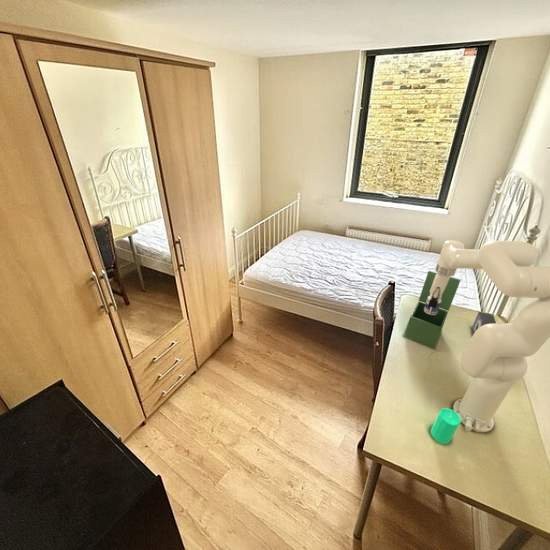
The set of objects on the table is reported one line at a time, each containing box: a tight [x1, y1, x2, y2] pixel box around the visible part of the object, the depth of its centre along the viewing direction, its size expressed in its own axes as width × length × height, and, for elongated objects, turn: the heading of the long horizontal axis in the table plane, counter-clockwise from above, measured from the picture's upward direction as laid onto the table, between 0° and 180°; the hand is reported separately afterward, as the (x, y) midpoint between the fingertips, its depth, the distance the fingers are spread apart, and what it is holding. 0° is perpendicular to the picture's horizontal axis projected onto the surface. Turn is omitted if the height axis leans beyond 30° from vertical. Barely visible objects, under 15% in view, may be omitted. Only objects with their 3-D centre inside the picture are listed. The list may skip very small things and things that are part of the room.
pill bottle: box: [424, 292, 442, 315], centre depth 133 cm, size 6×6×10 cm
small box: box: [471, 311, 497, 335], centre depth 140 cm, size 11×6×10 cm, turn 157°
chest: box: [403, 300, 449, 350], centre depth 140 cm, size 16×14×12 cm
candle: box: [430, 407, 462, 445], centre depth 96 cm, size 6×6×12 cm
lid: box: [418, 270, 462, 312], centre depth 139 cm, size 16×14×1 cm
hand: (433, 303), depth 133 cm, fingers closed on pill bottle, 5 cm apart
